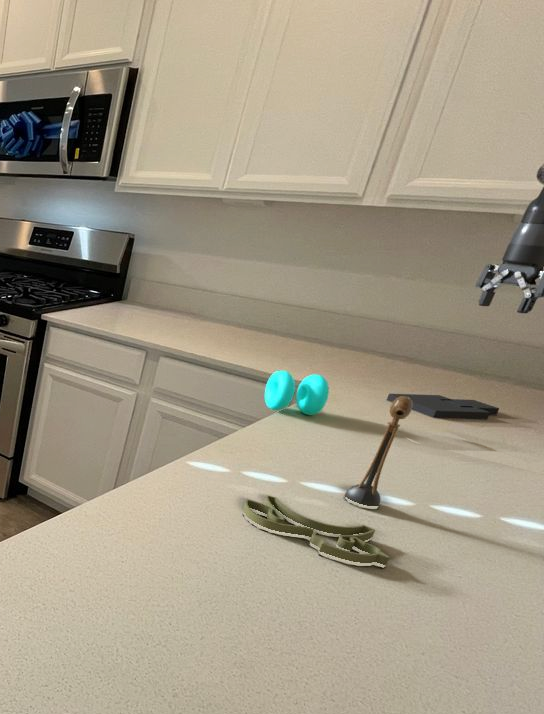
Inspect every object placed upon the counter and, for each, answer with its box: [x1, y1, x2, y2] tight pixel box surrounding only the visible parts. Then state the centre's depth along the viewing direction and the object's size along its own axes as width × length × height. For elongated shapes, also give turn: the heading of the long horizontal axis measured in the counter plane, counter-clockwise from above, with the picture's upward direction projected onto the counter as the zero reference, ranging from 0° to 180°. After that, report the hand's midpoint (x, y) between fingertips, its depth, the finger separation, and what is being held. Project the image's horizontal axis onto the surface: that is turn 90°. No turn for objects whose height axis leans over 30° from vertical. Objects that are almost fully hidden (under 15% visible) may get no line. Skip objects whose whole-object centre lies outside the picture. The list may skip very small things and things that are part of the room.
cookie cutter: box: [243, 494, 390, 566], centre depth 91 cm, size 18×12×2 cm, turn 46°
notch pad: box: [386, 393, 490, 420], centre depth 147 cm, size 14×12×4 cm
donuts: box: [264, 369, 330, 416], centre depth 144 cm, size 10×10×10 cm
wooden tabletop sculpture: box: [344, 396, 413, 507], centre depth 98 cm, size 6×5×20 cm
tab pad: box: [444, 398, 500, 416], centre depth 147 cm, size 9×6×4 cm, turn 92°
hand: (502, 309), depth 147 cm, fingers open, 8 cm apart
